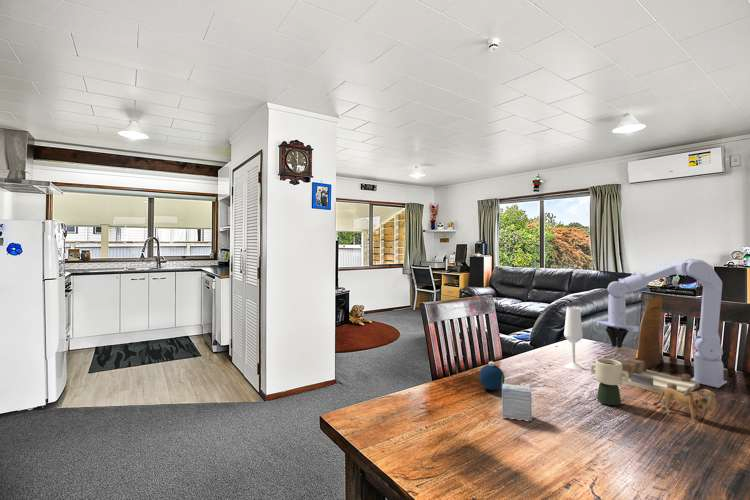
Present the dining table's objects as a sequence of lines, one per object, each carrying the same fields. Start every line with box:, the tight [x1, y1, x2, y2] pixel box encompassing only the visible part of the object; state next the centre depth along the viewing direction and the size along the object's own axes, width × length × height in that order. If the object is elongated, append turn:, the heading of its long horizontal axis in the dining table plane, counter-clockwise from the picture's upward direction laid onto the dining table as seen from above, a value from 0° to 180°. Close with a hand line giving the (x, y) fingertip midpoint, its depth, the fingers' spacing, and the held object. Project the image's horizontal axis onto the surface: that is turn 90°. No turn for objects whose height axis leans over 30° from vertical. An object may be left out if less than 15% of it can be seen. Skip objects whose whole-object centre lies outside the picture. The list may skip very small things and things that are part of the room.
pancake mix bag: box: [635, 295, 664, 369], centre depth 152 cm, size 7×19×28 cm, turn 122°
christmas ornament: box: [478, 359, 505, 391], centre depth 128 cm, size 8×8×10 cm
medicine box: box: [501, 383, 533, 422], centre depth 107 cm, size 8×4×9 cm, turn 71°
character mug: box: [589, 358, 628, 406], centre depth 116 cm, size 11×7×13 cm, turn 35°
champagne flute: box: [563, 306, 584, 371], centre depth 151 cm, size 7×7×24 cm
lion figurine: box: [652, 388, 717, 423], centre depth 108 cm, size 15×5×9 cm, turn 34°
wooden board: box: [621, 357, 647, 377], centre depth 138 cm, size 14×3×4 cm, turn 123°
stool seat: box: [621, 369, 700, 394], centre depth 133 cm, size 18×22×4 cm
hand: (617, 346), depth 146 cm, fingers closed
